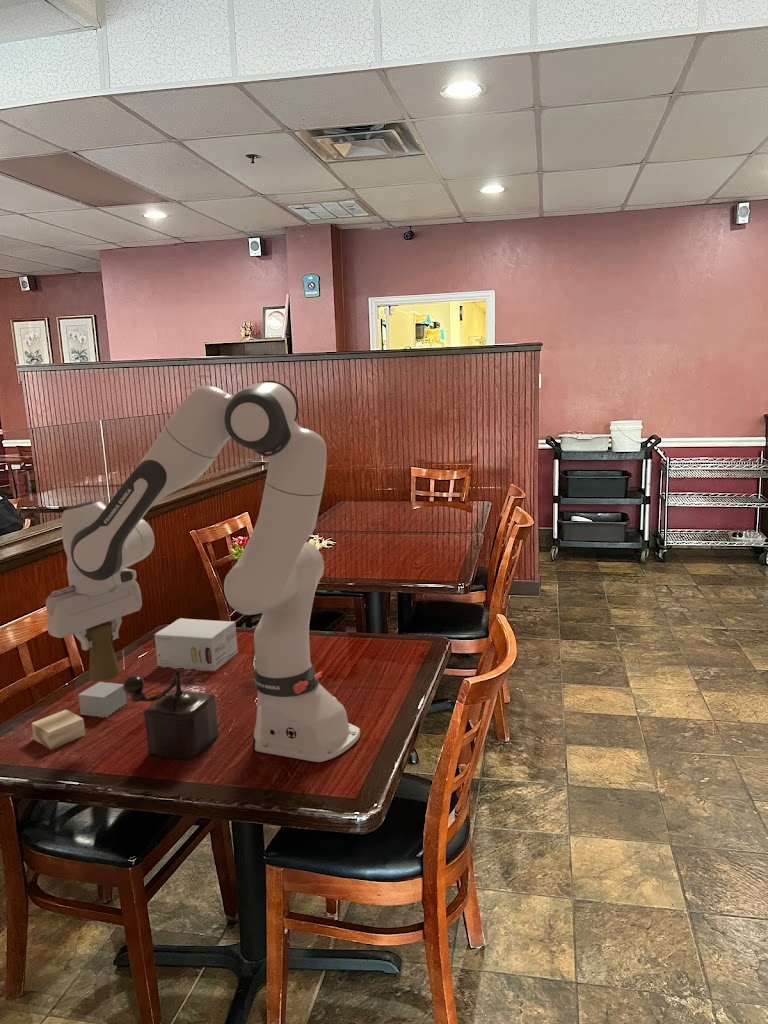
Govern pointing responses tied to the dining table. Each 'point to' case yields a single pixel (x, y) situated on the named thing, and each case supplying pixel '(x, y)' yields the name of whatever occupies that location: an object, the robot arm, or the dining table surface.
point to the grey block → (102, 699)
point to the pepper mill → (176, 719)
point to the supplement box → (196, 644)
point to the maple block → (58, 729)
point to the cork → (102, 653)
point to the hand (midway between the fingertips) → (100, 644)
